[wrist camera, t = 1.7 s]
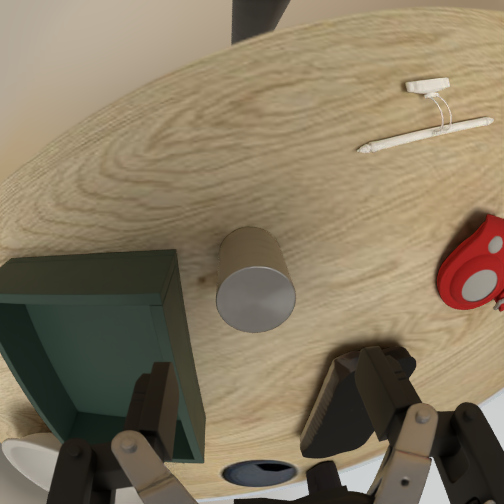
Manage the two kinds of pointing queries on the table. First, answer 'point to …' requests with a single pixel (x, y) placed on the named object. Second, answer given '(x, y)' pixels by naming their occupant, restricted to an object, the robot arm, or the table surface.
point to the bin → (98, 341)
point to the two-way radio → (323, 477)
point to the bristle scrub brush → (343, 408)
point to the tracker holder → (475, 269)
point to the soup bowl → (47, 462)
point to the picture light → (430, 88)
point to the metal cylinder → (253, 282)
